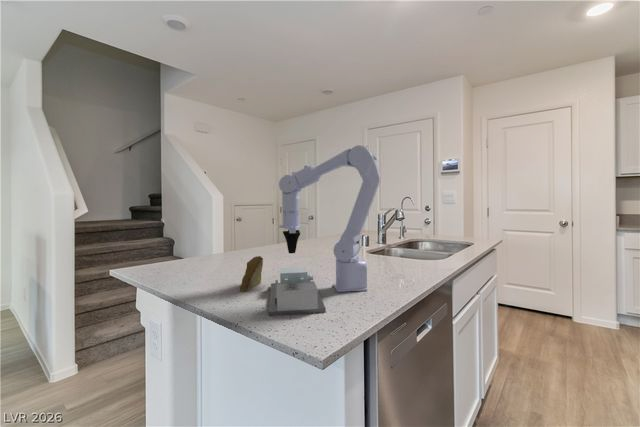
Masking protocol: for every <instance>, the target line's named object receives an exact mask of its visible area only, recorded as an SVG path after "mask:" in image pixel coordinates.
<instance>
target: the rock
mask: <svg viewBox="0 0 640 427" xmlns="http://www.w3.org/2000/svg"><path fill="white" fill-rule="evenodd" d="M263 261H264V259H263V257H262V256H260V255H258V256H257V255H256V256H254V257H252V259H250V260H249V261H247V262H246V269H245V272H244V275H243V277H242V279H241V284H240V286H239V291H240V292H247V291H250V290H252V289H254V288H256V287H257V286H259V285H260V284H262V270H263V266H264V262H263Z"/></svg>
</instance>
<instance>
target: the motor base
mask: <svg viewBox="0 0 640 427" xmlns="http://www.w3.org/2000/svg"><path fill="white" fill-rule="evenodd" d="M307 281H308V283H293V284H280V282H279V281H278V279H275V283H274V282H273V283H270V292H269V303H268V304H269V308H268V316H271V317H272V316H287V315H301V314H302V315H304V314H316V313H317V314H319V313H320V314H321V313H327V312H326V310H327V309H326V306H325V304H324V302H323V300H322V297H321V294H320V292H319V290H318V287H317V284H316V282H315V280H307Z"/></svg>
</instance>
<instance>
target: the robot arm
mask: <svg viewBox="0 0 640 427" xmlns="http://www.w3.org/2000/svg"><path fill="white" fill-rule="evenodd" d="M378 164H379V163H378V159H377V157H376V156H375V154H374V153H373V151H371V150H370V149H368V148H367V147H366V146H364V145H359V144H358V145H355V146H353V147H352V148H347V149H345V150H344V151H342V152H340V153H338V154H336V155H335V156H333V157H331V158H329V159H326V161H324V162H321V163H320V164H318V165H317V166H316V165H312V164H310V165H309V164H306V165H304V166H303V168H302V169H299V170H298V171H293V172H292V173H291V175H290V174H285V175H283V176H282V177H281V178H280V180H279V183H278V187H279V189H280V191H281V192H282V196H281V198H282V199H281V200H282V204H281V205H282V208H281V209H282V224H279V225H278V226H279V228H282V229H286V230H283V231H282V234H283V236H284V238H285V241H286V246H287V251H288V254H296V251H297V244H298V241H299V237H300V235H301V232H300V230H299V228H301V222H300V221H301V216H300V215H301V212H300V211H301V209H300V206H301V205H300V202H301V201H300V193H301V191H302V190H304V189H305V188H306V187H309V186H312V185H314V184H315V183H317V182H319V181H320V179H321V177H322V176H323V175H326V174H328V173H330V172H332V171H335V170H338V169H340V168H341V167H351V168H355V169H356V170H357V171H358V172H357V173H359V175H360V177H361V180H362V182H361V186H360V188H359V192H358V194H357V196H356V199H355V202H354V204H353V207H352V211H351V214H350V216H349V219H348V222H347V225H346V228H345V229H344V231H343V232H342V234H341V236H340V239H339V240H338V241H337V243H336V244H334V247H333V254H334V257H335V282H334V283H332V286H333V287H334V289H335V290H336V291H337V293H342V292H343V293H345V292H357V291H358V292H359V291H360V292H362V291H364V292H365V291H368V268H367V267H368V266H367V262H366V260H364V259H360V258H359V256H358V253H359V252H360V250H361V244H360V242H361V238H362V232H363V228H365V224H366V222H367V219H368V215H369V212H370V211H371V207H372V205H373V202H374V200H375V197H376V193H377V192H378V188H379V187H380V184H381V180H382V177H381V173H380V169H379V165H378Z"/></svg>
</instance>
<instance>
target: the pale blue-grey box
mask: <svg viewBox="0 0 640 427" xmlns="http://www.w3.org/2000/svg"><path fill="white" fill-rule="evenodd" d="M279 269H280V270H279V275H280V276H279V277H280V278H279V279H280V282H279V283H280V284H293V283H308V281H307V280H310V281H314V274H313V273H311V274H309V273H308V270H307V267H306V266H302V267H301V266H299V267H298V266H297V267H280V268H279Z"/></svg>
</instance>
